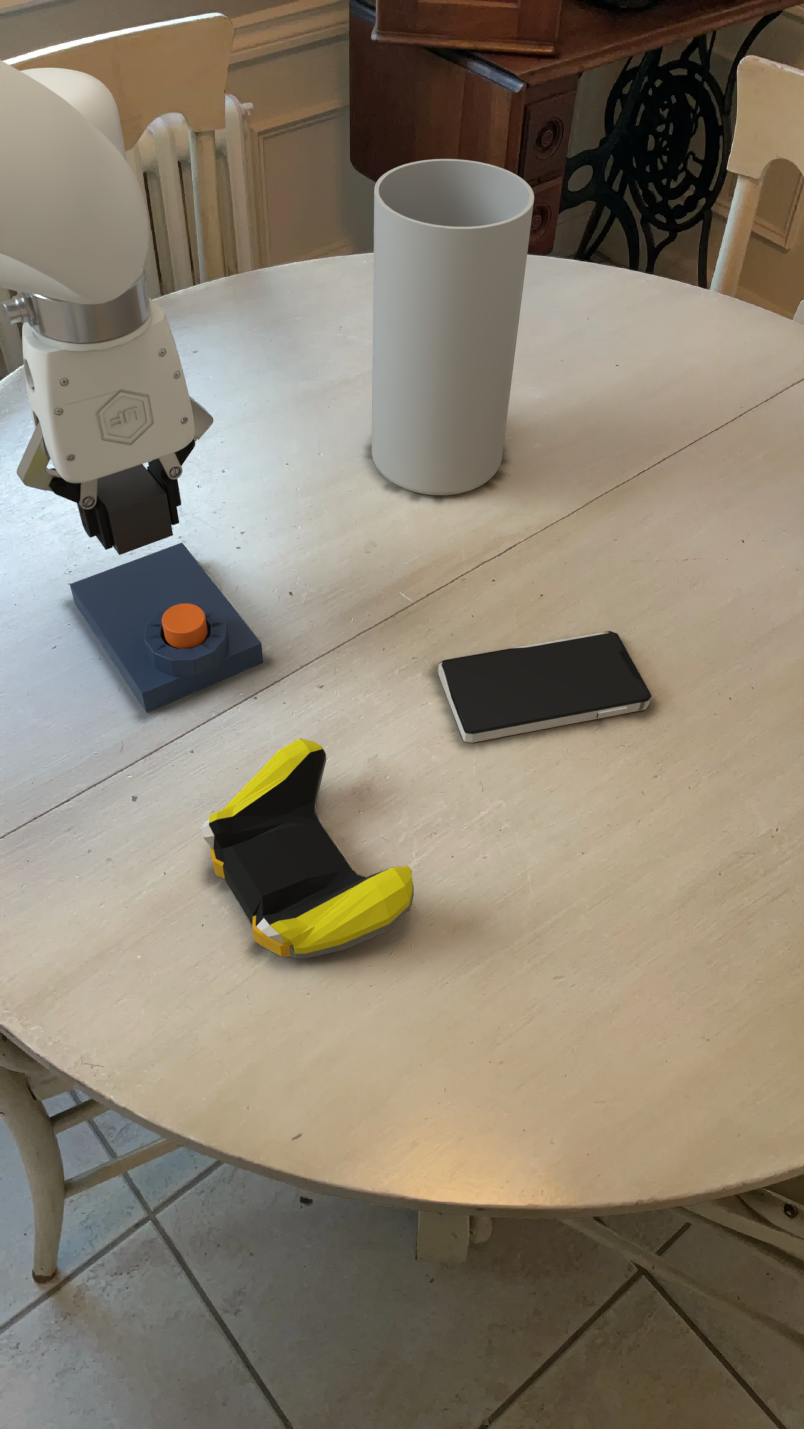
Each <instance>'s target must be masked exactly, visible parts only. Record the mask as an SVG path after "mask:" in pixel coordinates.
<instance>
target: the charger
mask: <svg viewBox="0 0 804 1429" xmlns="http://www.w3.org/2000/svg"><path fill="white" fill-rule="evenodd" d="M97 494H98V496H99V498H100V499H101V501H102V502H103V503H104V505H105V508H106V512H107V516H108V521H109V525H110V529H111V534H112V538H113V542H114V545H113V549H114V550H115V551H116V553H117V554H118V555H119V556H121V555H124V554H127V553H129V552H132V551H134V550H137V549H140V548H143V547H145V546H149V545H151V544H154V543H157V542H159V541H161V540H164V539H167V538H170V537H172V536H174V531H173V525H171V519H170V514H169V508H168V502H167V496H166V493H165V491H164V490H163V489H162V488H161V486H160V485H159V484H158V483H157V481H156V480H155V479H154V478H153V476H152V475H151V474H150V473H149V471H148V470H147V467H146V466H145V464H144V463H143V464H140V465H137V466H135V467H132V468H129V469H126V470H123V471H120V472H117V473H114V474H111V475H108V476H105V477H101V478H98V489H97Z"/></svg>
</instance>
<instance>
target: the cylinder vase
mask: <svg viewBox="0 0 804 1429" xmlns="http://www.w3.org/2000/svg"><path fill="white" fill-rule="evenodd" d="M373 189H374V190H373V191H374V192H373V271H372V272H373V275H372V276H373V283H372V300H373V301H372V367H371V368H372V369H371V370H372V372H371V373H372V374H371V376H372V377H371V378H372V379H371V380H372V382H371V457H372V460H373V462H374V465H375V467H376V468H377V470H378V471H379V473H380V474H381V475H382V476H383V477H385V478H386V479H387V480H388V481H389V482H391V483H392V484H395V485H396V486H398V487H400V488H402V489H405V490H407V491H409V492H412V493H418V494H423V495H429V496H450V495H459V494H462V493H467V492H470V491H472V490H473V491H474V490H475V489H477V488H479V487H481V486H483V485H484V484H486V483H487V482H488V481H490V480H491V479H492V478H493V477H494V476H495V475H496V473H497V472H498V471H499V468H500V466H501V464H502V461H503V460H502V459H503V453H504V446H505V445H504V444H505V436H506V428H507V421H508V412H509V404H510V396H511V389H512V381H513V372H514V363H515V357H516V348H517V340H518V332H519V323H520V316H521V308H522V307H521V306H522V301H523V300H522V299H523V291H524V283H525V275H526V268H527V258H528V253H529V252H528V251H529V244H530V235H531V226H532V219H533V210H534V202H535V194H534V191H533V189H532V187H531V186H530V184H529V183H528V182H527V181H526V180H525V179H524V178H522V177H521V176H519V175H517V174H515V173H513V172H512V171H510V170H507V169H506V168H503V167H500V166H497V165H493V164H491V163H485V162H481V161H475V160H469V159H459V158H433V159H424V160H417V161H411V162H408V163H405V164H402V165H398V166H396V167H393V168H391V169H390V170H388V171H387V172H385V173H384V174H382V175H381V176H380V177H379V178H378V179H377V181H376V182H375V185H374V188H373Z"/></svg>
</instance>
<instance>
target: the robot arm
mask: <svg viewBox="0 0 804 1429" xmlns="http://www.w3.org/2000/svg"><path fill="white" fill-rule="evenodd" d="M113 95H114V94H112V92H111V91H110V90H109V88H108V87H107V86H106V85H105V83H103V82H102V81H101V80H99V79H98V78H96V77H95V76H93V75H91V74H89V73H86V72H84V71H80V70H76V69H70V68H68V69H67V68H62V67H35V68H28V69H27V68H26V69H22V70H19V69H17V68H16V67H14V66H12V65H10V64H8V63H6V62H5V61H3V60H1V59H0V289H3V290H4V289H5V290H9V291H13V292H16V295H13V296H11V299H7V300H4V301H3V300H2V301H0V306H1V310H2V313H3V316H4V319H5V320H6V322H7V323H8V324H9V325H13V324H17V323H21V324H22V326H21V327H22V328H21V331H22V332H21V334H22V336H21V338H22V339H21V340H22V341H21V342H22V358H23V359H22V360H23V366H24V367H23V368H24V378H25V385H26V391H27V392H26V393H27V396H28V397H27V398H28V404H29V409H30V414H31V418H32V423H33V427H34V431H33V433H32V435H31V437H30V439H29V442H28V443H27V446H26V448H25V451H24V453H23V455H22V457H21V459H20V461H19V464H18V466H17V469H16V475H17V476H18V478H19V479H20V481H21V482H22V484H23V485H24V486H26V487H29V488H33V489H36V490H41V491H44V492H47V491H48V492H51V493H52V492H53V494H54V495H56V496H58V497H61V498H63V499H66V500H68V501H71V502H73V503H75V504H76V506H77V509H78V513H79V517H80V520H81V521H80V522H81V524H82V527H83V529H84V530H83V531H84V532H85V533H86V535H87V536H88V537H89V538H94V537H96V539H97V540H98V541H99V543H100V544H101V546H102V547H103V548H104V550H105V551H107V550H111V549H114V547H113V545H114V542H113V538H112V534H111V529H110V525H109V521H108V516H107V512H106V508H105V505H104V503H103V502H102V501H101V499H100V498H99V496H98V494H97V489H98V478H101V477H105V476H108V475H111V474H114V473H117V472H120V471H123V470H126V469H129V468H132V467H135V466H137V465H140V464H143V465H144V464H146V463H147V464H148V465H147V466H146V469H147V470H148V471H149V473H150V474H151V475H152V476H153V478H154V479H155V480H156V481H157V483H158V484H159V485H160V486H161V488H162V489H163V490H164V491H165V493H166V496H167V502H168V508H169V514H170V519H171V525H172V526H176V525H179V524H180V517H179V511H178V507H180V506H182V498H181V492H180V486H179V480H178V479H180V477H181V476H182V475H183V471H184V470H183V465H184V463H185V462H186V461H187V459H188V458H189V456H190V454H191V453H192V451H193V450H194V449H195V447H196V442H197V440H198V441H199V440H200V439H201V438H202V437H203V436H204V434H205V433H206V432H207V431H208V430H209V429H210V428H211V426H212V425H213V423H214V417H213V416H212V415H211V414H210V413H209V411H208V410H207V409H206V408H205V407H204V406H202V405H201V404H200V403H199V402H198V401H197V400H196V399H194V398H193V397H192V396H190V392H189V389H188V385H187V381H186V376H185V373H184V368H183V366H182V365H183V364H182V361H181V358H180V354H179V351H178V348H177V344H176V341H175V337H174V335H173V331H172V329H171V325H170V323H169V320H168V317H167V315H166V313H165V311H164V309H163V308H162V306H161V305H159V304H158V303H157V302H155V301H154V300H153V299H152V298H151V297H150V296H149V290H148V284H147V278H146V272H145V266H144V265H145V262H146V257H147V255H148V254H147V253H148V249H149V241H150V221H149V215H148V208H147V205H146V200H145V197H144V193H143V191H142V188H141V185H140V183H139V181H138V178H137V177H136V175H135V173H134V171H133V170H132V168H131V166H130V164H129V163H128V159H127V153H126V147H125V141H124V134H123V129H122V122H121V117H120V113H119V109H118V105H117V103H116V101H115V98H114V96H113ZM50 461H51V463H52V465H53V467H50V468H48V465H49V463H50Z"/></svg>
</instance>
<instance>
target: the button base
mask: <svg viewBox="0 0 804 1429" xmlns="http://www.w3.org/2000/svg"><path fill="white" fill-rule="evenodd" d="M69 588H70V591H71V595H72V599H73V603H74V605H75V607H76V608H77V609H78V611H79V612H80V614H81V615H82V617H83V618H84V620H85V621H86V623H87V625H88V626H89V628H90V629H91V631H92V632H93V634H94V636H95V637H96V638H97V640H98V641H99V643H100V644H101V646H102V647H103V649H104V651H105V652H106V654H107V656H108V657H109V658H110V660H111V661H112V663H113V664H114V666H115V667H116V669H117V670H118V672H119V673H120V675H121V676H122V678H123V680H124V682H125V683H126V684H127V685H128V687H129V688H130V690H131V692H132V693H133V695H134V696H135V698H136V699H137V701H138V702H139V704H140V705H141V707H142V708H143V710H144V711H145V713H149V712H151V711H154V710H157V709H158V708H161V707H163V706H166V705H167V704H170V703H173V702H175V701H177V700H180V699H182V698H184V697H186V696H189V695H191V694H193V693H196V692H198V691H201V690H202V689H206V688H207V687H210V686H212V685H214V684H216V683H219V682H221V681H223V680H226V679H228V678H230V677H232V676H235V675H238V674H239V673H242V672H244V671H247V670H249V669H252V668H254V667H256V666H258V665H261V664H263V663H264V654H263V644H262V642H261V640H260V639H259V637H257V635H256V634H255V633H254V631H253V630H252V629H251V628H250V626H249V625H248V624H247V623H246V621H245V620H244V619H243V617H242V616H241V615H240V613H239V612H238V611H237V610H236V609H235V607H234V606H233V605H232V603H230V601H229V600H228V598H227V597H226V596H225V594H224V593H223V592H222V591H221V589H220V588H219V587H218V586H217V584H216V583H215V582H214V580H213V579H212V578H211V577H210V576H209V574H208V573H207V572H206V571H205V569H204V568H203V567H202V566H201V565H200V563H199V562H198V560H196V558H195V557H194V555H193V554H192V553H191V551H189V549H188V547H187V546H185V544H184V543H183V542H179V543H176V544H174V545H170V546H169V547H165V548H162V549H161V550H157V551H155V552H153V553H149V554H147V555H144V556H142V557H139V558H136V559H134V560H131V561H128V562H125V563H122V564H120V565H118V566H117V565H116V566H115V567H112V568H109V569H107V570H104V571H101V572H98V573H95V574H93V575H90V576H88V577H85V578H82V579H80V580H77V581H74V582H70V583H69ZM184 603H186V604H193V605H196V606H198V607H200V608H201V609H202V610H203V612H204V614H205V618H206V625H207V637H206V639H205V640H204V641H203V642H202V643H201V644H200V645H198V646H196V647H193V648H189V649H179V648H175V647H173V646H171V645H170V644H169V643H168V642H167V641H166V639H165V635H164V630H163V625H162V617H163V614H164V613H165V612H166V610H168V609H169V608H170V607H172V606H175V605H178V604H184Z"/></svg>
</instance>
